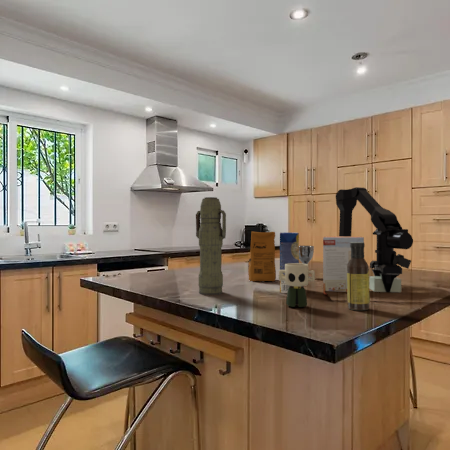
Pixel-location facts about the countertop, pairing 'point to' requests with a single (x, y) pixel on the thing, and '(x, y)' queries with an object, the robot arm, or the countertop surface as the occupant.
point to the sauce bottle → (357, 279)
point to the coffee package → (262, 257)
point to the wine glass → (306, 254)
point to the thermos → (210, 245)
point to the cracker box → (336, 262)
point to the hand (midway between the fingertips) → (384, 290)
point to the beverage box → (288, 254)
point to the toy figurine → (296, 283)
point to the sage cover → (378, 285)
